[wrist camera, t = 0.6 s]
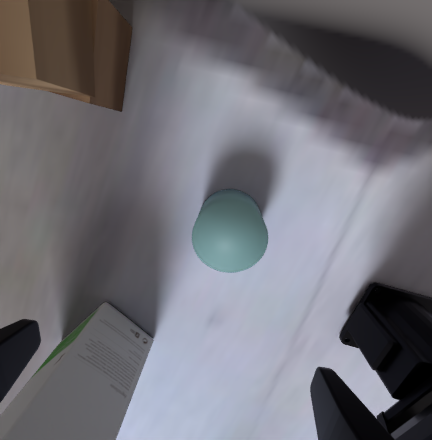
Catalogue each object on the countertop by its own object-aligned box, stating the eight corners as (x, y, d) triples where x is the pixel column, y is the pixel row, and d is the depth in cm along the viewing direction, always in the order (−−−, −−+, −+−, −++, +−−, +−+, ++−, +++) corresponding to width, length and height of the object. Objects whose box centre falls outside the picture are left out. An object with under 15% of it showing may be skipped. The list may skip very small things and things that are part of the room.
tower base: (132, 28, 15) (98, -11, 11) (122, 111, 16) (89, 103, 13) (55, 4, 15) (-7, -44, 11) (52, 91, 16) (-2, 76, 12)
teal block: (268, 199, 18) (279, 215, 14) (249, 252, 19) (253, 280, 16) (208, 181, 18) (202, 193, 14) (193, 237, 19) (184, 261, 15)
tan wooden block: (90, -22, 11) (15, -109, 7) (95, 97, 12) (36, 79, 9) (-15, -36, 11) (-145, -129, 7) (4, 84, 13) (-94, 61, 9)
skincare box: (107, 298, 22) (-153, 633, 7) (159, 340, 23) (33, 698, 8) (58, 342, 24) (-218, 667, 9) (108, 378, 25) (-64, 714, 10)
